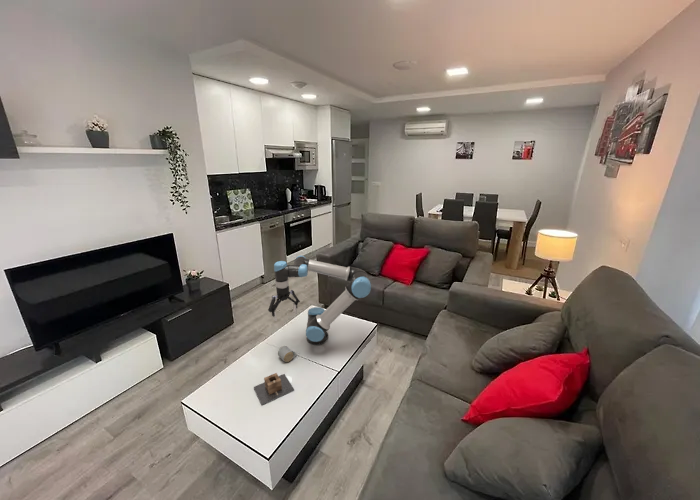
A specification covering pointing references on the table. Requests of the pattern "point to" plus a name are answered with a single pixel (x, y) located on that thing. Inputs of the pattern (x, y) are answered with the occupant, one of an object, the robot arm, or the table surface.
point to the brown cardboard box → (273, 383)
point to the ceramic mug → (286, 354)
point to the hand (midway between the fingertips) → (285, 316)
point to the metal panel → (267, 398)
